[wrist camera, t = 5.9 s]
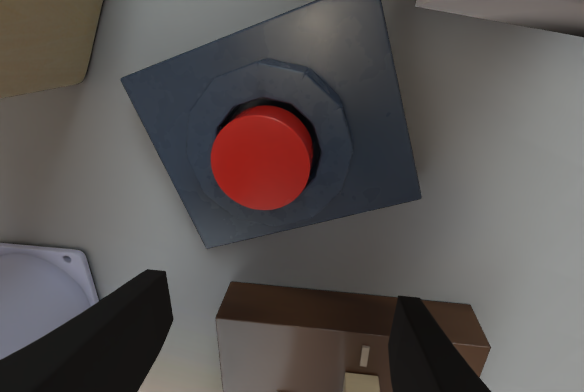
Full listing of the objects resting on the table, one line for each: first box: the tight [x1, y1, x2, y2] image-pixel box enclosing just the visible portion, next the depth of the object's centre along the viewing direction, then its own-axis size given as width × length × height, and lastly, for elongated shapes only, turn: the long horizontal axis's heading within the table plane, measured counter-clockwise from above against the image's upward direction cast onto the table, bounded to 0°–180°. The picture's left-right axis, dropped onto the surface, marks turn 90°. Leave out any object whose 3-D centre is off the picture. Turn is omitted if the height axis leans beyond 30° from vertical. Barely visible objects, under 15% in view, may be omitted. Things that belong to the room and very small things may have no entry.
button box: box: [121, 0, 422, 249], centre depth 15 cm, size 11×9×4 cm
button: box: [211, 105, 313, 210], centre depth 13 cm, size 4×4×2 cm
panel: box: [216, 282, 491, 392], centre depth 21 cm, size 14×11×3 cm
